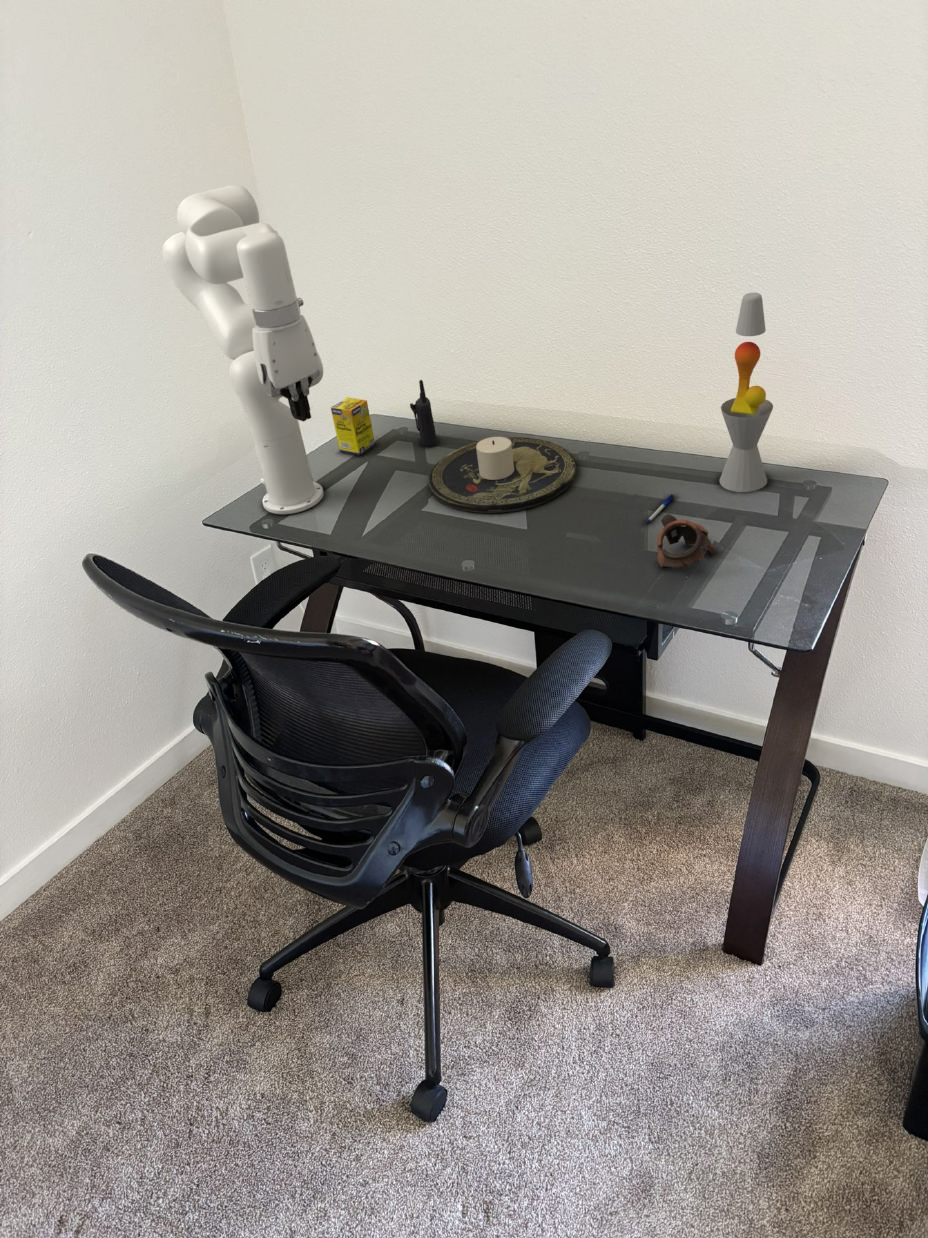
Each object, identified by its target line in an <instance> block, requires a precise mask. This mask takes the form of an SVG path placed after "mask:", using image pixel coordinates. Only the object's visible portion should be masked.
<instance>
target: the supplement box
mask: <svg viewBox="0 0 928 1238" xmlns="http://www.w3.org/2000/svg"><path fill="white" fill-rule="evenodd" d="M330 411H331V416H332V421H333V425H334V429H335V434H336V438H337V444H338V448H339V452H340V453H342V454H346V455H351V456H357V457H362V455H364V454H365V453H366V452H368V451H369V450H371V449H372V448H374V447H375V446H376V440H375V435H374V431H373V430H374V429H373V425H372V420H371V414H370V410H369V404H368V400H367V399H361V398H356V397H355V398H354V397H350V396H349V397H348V396H347V397H345V398H343V400H341V401H339V402H338V403H336V404H334V405H332V406H331V407H330ZM373 442H374V443H373ZM371 443H372V444H371ZM370 444H371V445H370ZM358 452H359V453H358Z"/></svg>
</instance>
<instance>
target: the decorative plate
mask: <svg viewBox="0 0 928 1238" xmlns="http://www.w3.org/2000/svg"><path fill="white" fill-rule="evenodd" d="M506 438H507V439H509V440H510V441H511V444H512V454H513V463H514V472H513V473H512V474H511V475H510V476H508V477H506V478H503V479H498V480H489V479H485V478H483V477H481V476H480V473H479V465H478V457H477V450H476V445H477V444H478V443H479V442H480V441H477V442H474V443H470V444H467V445H465V446H462V447H460V448H458V449H455V450H453V451H451V452H449V453H448V454H446V455H445V456H443V457H442V458H440V460H439V461H437V462H436V463H435V464H434V465H433V467H432V469H431V470H430V472H429V475H428V488H429V490H430V492H431V494H432V496H433V497H435V499H436V500H438V501H439V502H441V503H442V504H444V505H446V506H447V507H451V508H453V509H456V510H460V511H464V512H471V513H480V514H495V513H496V514H498V513H500V514H501V513H502V514H503V513H508V512H517V511H520V510H525V509H529V508H530V509H531V508H533V507H535V506H539V505H541V504H545V503H547V502H548V501H550V500H552V499H554V498H556V497H558V496H559V495H561V494H562V493H563V492H565V491H566V490H567V489H568V488H569V487H570V486H571V485H572V483H573V481H574V479H575V478H576V472H577V465H576V462H575V460H574V457H573V456H572V454H570V452H569V451H568V450H567V449H565V448H564V447H563V446H561V445H559V444H557V443H554V442H552V441H548V440H543V439H540V438H534V437H533V438H532V437H520V436H519V437H518V436H513V437H506Z"/></svg>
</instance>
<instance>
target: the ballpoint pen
mask: <svg viewBox="0 0 928 1238" xmlns="http://www.w3.org/2000/svg"><path fill="white" fill-rule="evenodd" d="M674 497H675V496H674V494H672V493H671V494H670V495H669V496H668V497H667V498H665V500H664V501H663V502H662V504H661V505H660V506H659V507H658V508H657V509H656V510H655V512H653V513H652V515H651V516H650V517H649V518H648V519H647V520H646V524H649V523H651V522H652V521H653V520H654V519H655V518H656V517H657V515H658V514H660V513H661V512H662V510H663V509H664V508H665V507H667V506H668V504H669V503H670V502H671V501H673V499H674Z"/></svg>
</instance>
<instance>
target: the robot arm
mask: <svg viewBox="0 0 928 1238" xmlns="http://www.w3.org/2000/svg"><path fill="white" fill-rule="evenodd" d="M258 208H259V207H258V205H257V202H256V200H255V198H254V196H253V195H252V193H251V192H250V191H249V190H248V189H247V188H245V187H244V186H242V185H239V184H230V185H226V186H222V187H217V188H213V189H209V190H204V191H200V192H196V193H193V194H191V195H189V196H187V197H185V198H184V199H183V200H181V202H180V204H179V205H178V207H177V211H176V219H177V220H176V221H177V224H178V226H179V229H180V230H181V231H180V232H177V233H175V234H173V235H172V236H170V237H169V238H167V239H166V240H165V242H164V244H163V245H162V248H161V249H162V250H161V252H162V253H161V254H162V259H163V263H164V266H165V268H166V270H167V272H168V275H169V277H170V278H171V280H172V282H173V283H174V285H175V286H176V288H177V289H178V291H179V292H180V293H181V294H182V295H183V297H184V298H186V299H187V300H188V302H190V303H191V304H192V305H193V306H194V308H196V309H197V311H199V313H200V315H201V316H202V318H203V319H204V321H205V324H206V325H207V327H208V328H209V331H210V332H211V334H212V336H213V338H214V340H215V341H216V343H217V345H218V346H219V348H220V349H221V351H222V352H223V354H224V355H225V356H226V357H227V358H228V359H230V360H233V361H232V362H231V364H230V366H229V371H228V374H229V375H228V376H229V379H230V382H231V385H232V387H233V389H234V392H235V394H236V396H237V399H238V401H239V403H240V405H241V407H242V411H243V414H244V415H245V419H246V422H247V425H248V428H249V433H250V435H251V439H252V442H253V445H254V449H255V453H256V456H257V460H258V463H259V467H260V471H261V473H262V477H261V478H260V480H259V482H260V484H262V485H264V486H265V489H266V493H265V494H264V496H263V498H262V502H261V503H262V506H263V508H264V510H266V511H267V512H268V513H271V514H275V515H292V514H296V513H297V514H298V513H300V512H304V511H307V510H309V509H310V508H312V507H315V506H316V505H318V504H319V503H320V502H321V500H322V499H323V497H324V494H325V493H324V489H323V486H322V485H321V484H319V483H318V482H316V481H314V480H313V476H312V471H311V468H310V464H309V459H308V456H307V452H306V447H305V444H304V439H303V435H302V432H301V431H302V430H301V427H300V423H299V421H301V422H306V421H307V420H310V419H311V418H312V414H311V406H310V401H309V398H308V396H309V395H310V388H312V387H315V386H317V385H318V384H319V383H321V381H322V379H323V377H324V365H323V362H322V359H321V356H320V354H319V353H318V350H317V346H316V344H315V343H316V342H315V339H314V337H313V334H312V332H311V328H310V326H309V324H308V322H307V319H306V318H305V316H304V315H302V314H301V307H303V306H304V303H305V302H304V300H303V298H302V297H297V293H296V288H295V284H294V279H293V275H292V271H291V266H290V263H289V262H290V261H289V258H288V255H287V248H286V244H285V242H284V239H283V238H282V237H281V235H279V233H278V231H277V230H275V229H274V227H272V226H271V225H270V224H269V223H266V222H260V212H259V209H258ZM241 279H244V285H245V288H246V293H247V296H248V299H249V303H245V300H244V299H243V297H242V295H241V294H240V292H239V291H238V290H237V289H236V288H235V287H234V286H233V285H231V284H229V283H230V282H234V281H237V280H241ZM281 398H285V399H287V402H288V405H289V406H288V405H286V404H285V403H283V402H282V401H280V399H281Z"/></svg>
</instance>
